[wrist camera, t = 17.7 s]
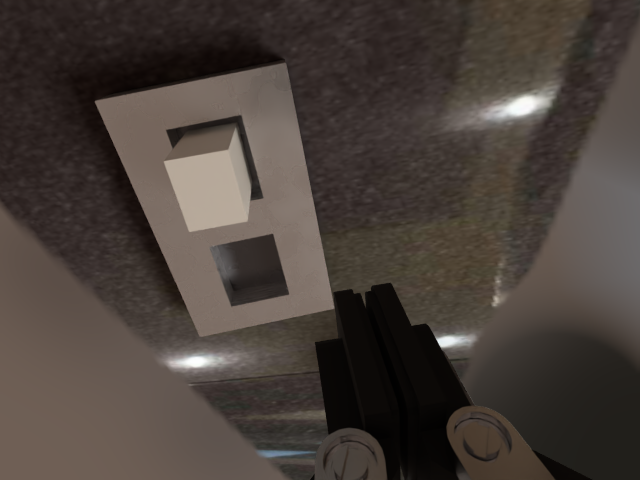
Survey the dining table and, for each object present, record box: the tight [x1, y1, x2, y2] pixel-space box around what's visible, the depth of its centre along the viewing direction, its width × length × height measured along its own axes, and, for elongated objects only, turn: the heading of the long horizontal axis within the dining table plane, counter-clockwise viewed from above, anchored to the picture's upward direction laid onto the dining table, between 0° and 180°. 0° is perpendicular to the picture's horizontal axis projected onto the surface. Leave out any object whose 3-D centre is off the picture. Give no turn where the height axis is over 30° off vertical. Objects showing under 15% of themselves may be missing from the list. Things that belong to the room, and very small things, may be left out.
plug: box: [164, 122, 252, 232], centre depth 25 cm, size 4×4×7 cm
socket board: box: [95, 59, 334, 337], centre depth 30 cm, size 20×12×3 cm, turn 10°
